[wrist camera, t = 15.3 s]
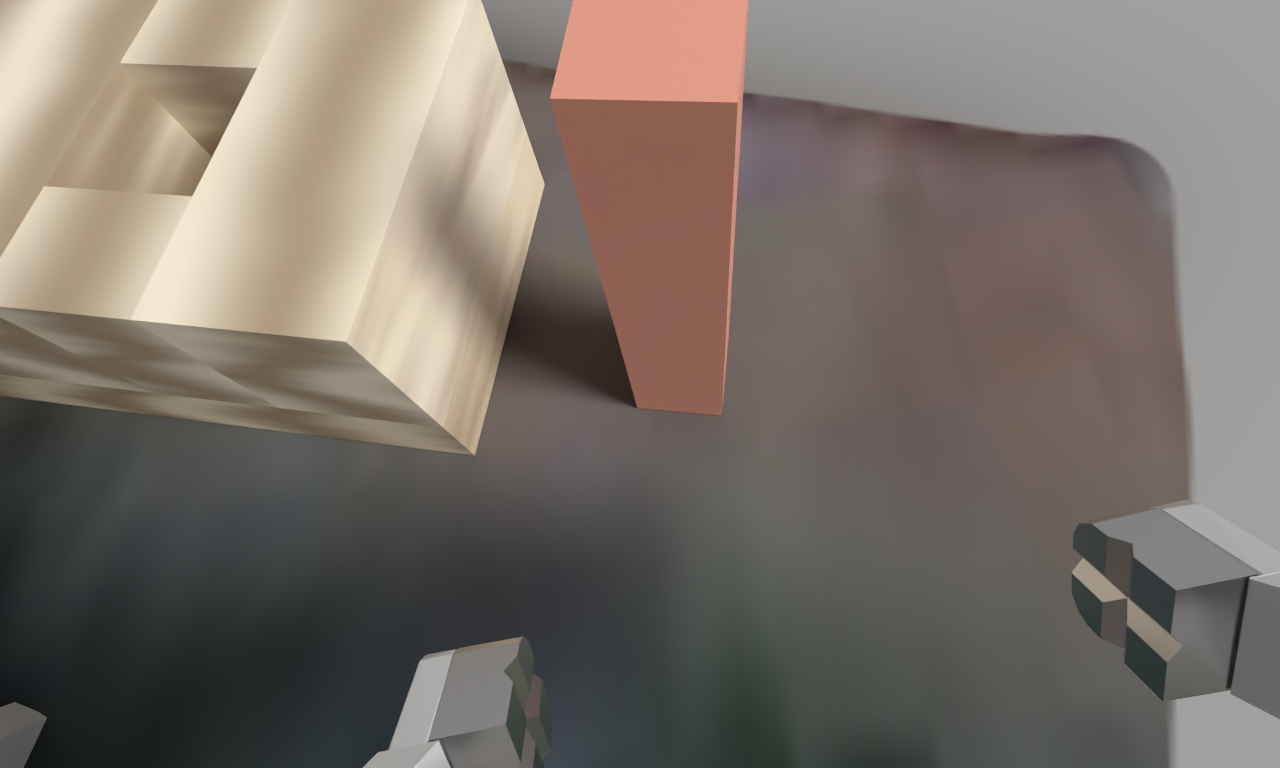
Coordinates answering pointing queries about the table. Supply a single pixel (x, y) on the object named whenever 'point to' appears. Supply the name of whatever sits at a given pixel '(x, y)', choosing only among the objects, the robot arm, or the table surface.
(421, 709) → the robot arm
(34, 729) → the hinge
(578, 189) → the salmon pink square peg
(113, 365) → the beige wooden block
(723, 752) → the table surface
